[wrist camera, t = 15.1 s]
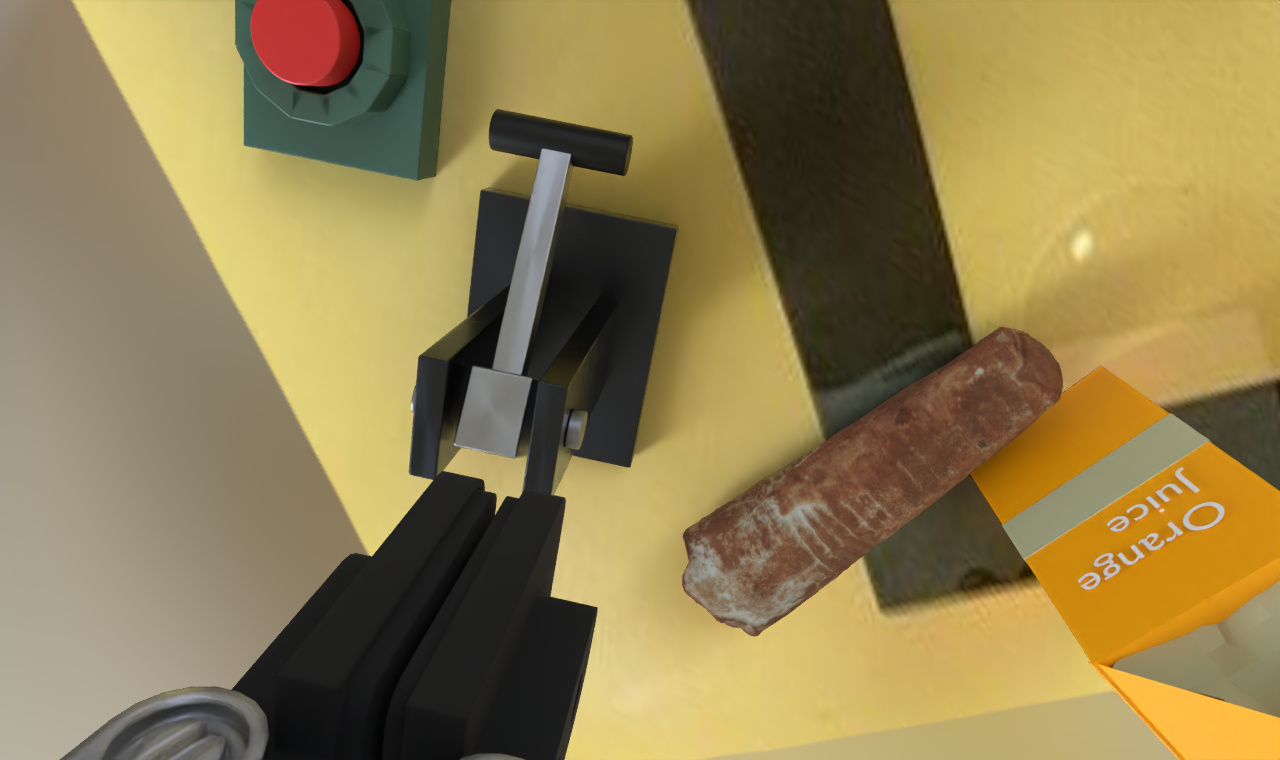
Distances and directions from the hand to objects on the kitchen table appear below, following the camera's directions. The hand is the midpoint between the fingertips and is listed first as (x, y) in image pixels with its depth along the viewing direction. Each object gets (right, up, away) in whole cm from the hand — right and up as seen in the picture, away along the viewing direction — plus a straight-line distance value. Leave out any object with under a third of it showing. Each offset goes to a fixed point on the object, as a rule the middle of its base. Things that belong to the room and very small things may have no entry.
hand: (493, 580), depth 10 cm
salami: (+12, -1, +28) cm, 31 cm away
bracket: (-2, +5, +27) cm, 28 cm away
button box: (-11, +18, +24) cm, 32 cm away
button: (-11, +16, +21) cm, 29 cm away
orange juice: (+23, -2, +27) cm, 36 cm away
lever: (-2, +6, +19) cm, 20 cm away
